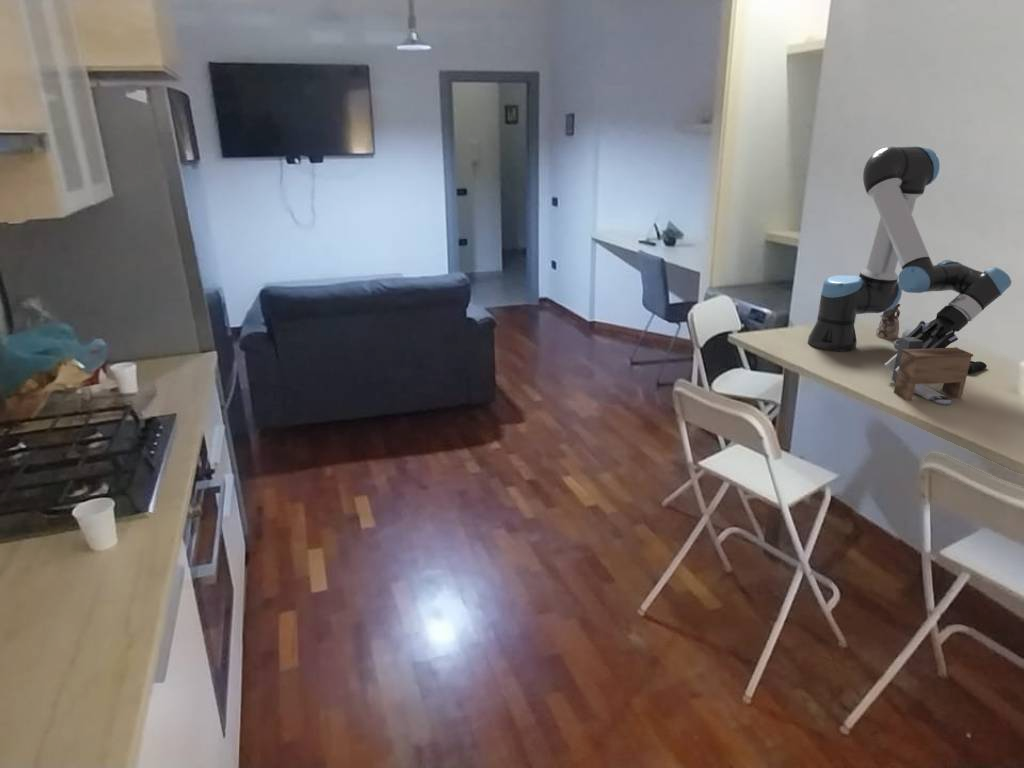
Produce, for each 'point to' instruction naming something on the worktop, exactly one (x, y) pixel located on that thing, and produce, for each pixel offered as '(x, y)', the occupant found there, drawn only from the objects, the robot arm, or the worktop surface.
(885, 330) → the figurine
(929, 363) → the walnut stool
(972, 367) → the door handle
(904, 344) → the grey block with plate
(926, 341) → the ceramic mug
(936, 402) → the dark grey round piece
